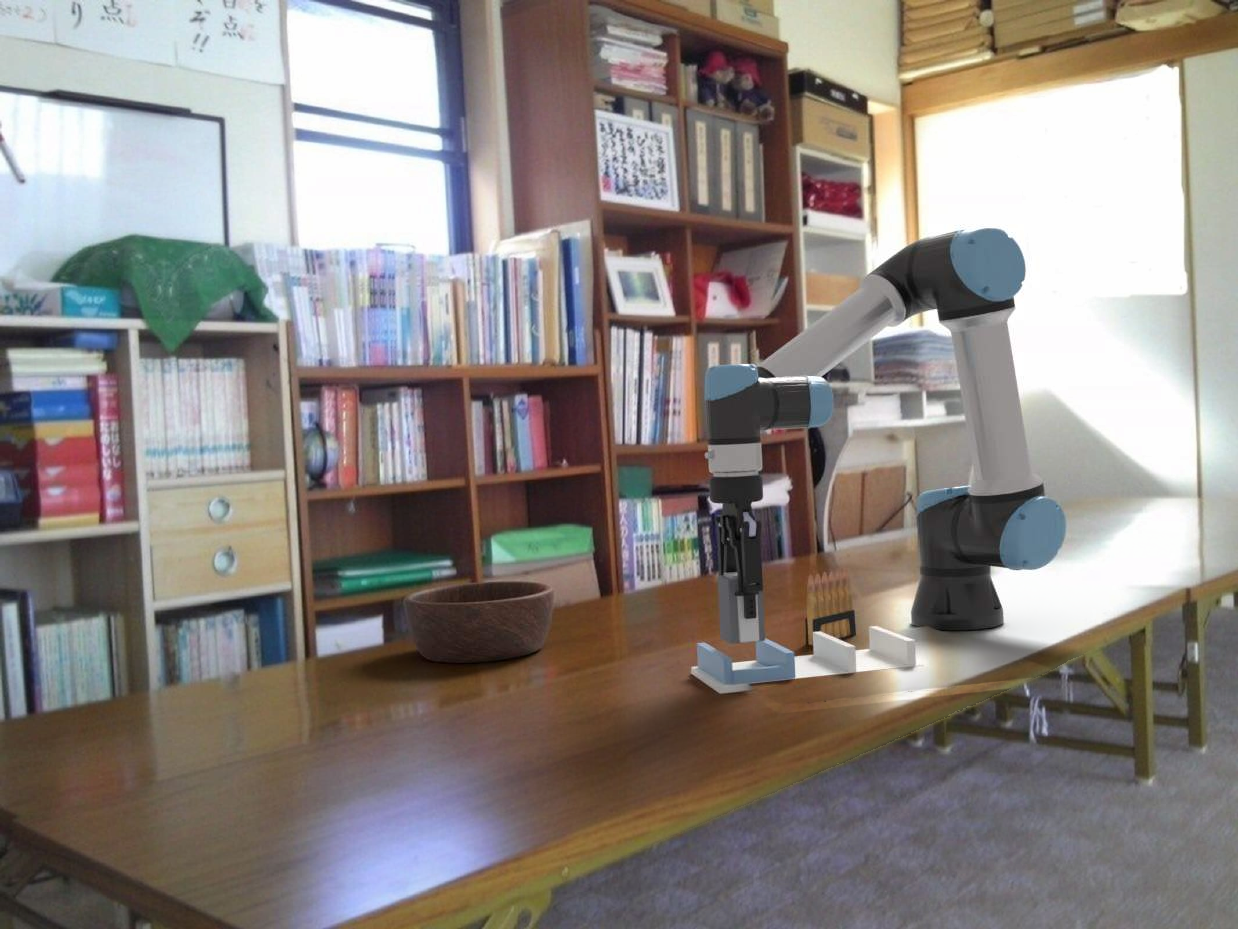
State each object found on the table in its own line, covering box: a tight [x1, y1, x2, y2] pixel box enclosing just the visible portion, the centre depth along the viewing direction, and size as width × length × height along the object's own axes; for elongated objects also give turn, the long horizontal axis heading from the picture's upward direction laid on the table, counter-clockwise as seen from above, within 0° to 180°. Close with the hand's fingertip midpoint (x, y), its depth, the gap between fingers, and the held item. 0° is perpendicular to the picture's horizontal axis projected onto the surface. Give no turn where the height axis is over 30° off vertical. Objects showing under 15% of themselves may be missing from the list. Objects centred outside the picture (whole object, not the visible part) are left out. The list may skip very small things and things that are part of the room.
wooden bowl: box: [403, 580, 555, 664], centre depth 209 cm, size 25×25×10 cm
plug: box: [717, 572, 766, 645], centre depth 177 cm, size 5×5×9 cm
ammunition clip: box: [804, 567, 857, 646], centre depth 198 cm, size 11×2×12 cm, turn 132°
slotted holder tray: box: [690, 625, 923, 694], centre depth 180 cm, size 30×14×4 cm, turn 103°
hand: (742, 637), depth 177 cm, fingers closed on plug, 5 cm apart
